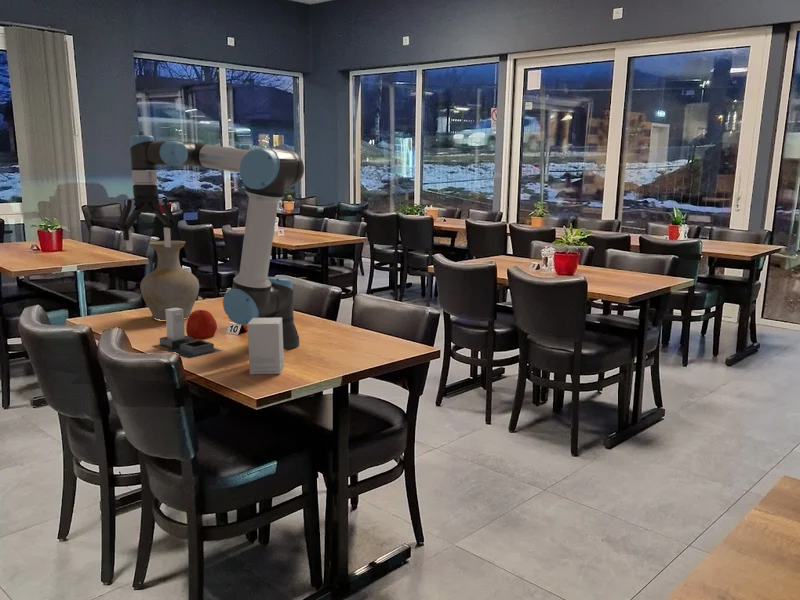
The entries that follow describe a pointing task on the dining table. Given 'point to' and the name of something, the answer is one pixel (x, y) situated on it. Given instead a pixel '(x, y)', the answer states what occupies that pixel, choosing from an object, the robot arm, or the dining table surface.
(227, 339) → the dining table surface
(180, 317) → the plug
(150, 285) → the vase
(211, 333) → the apple
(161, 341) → the grey double tray
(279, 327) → the supplement box
